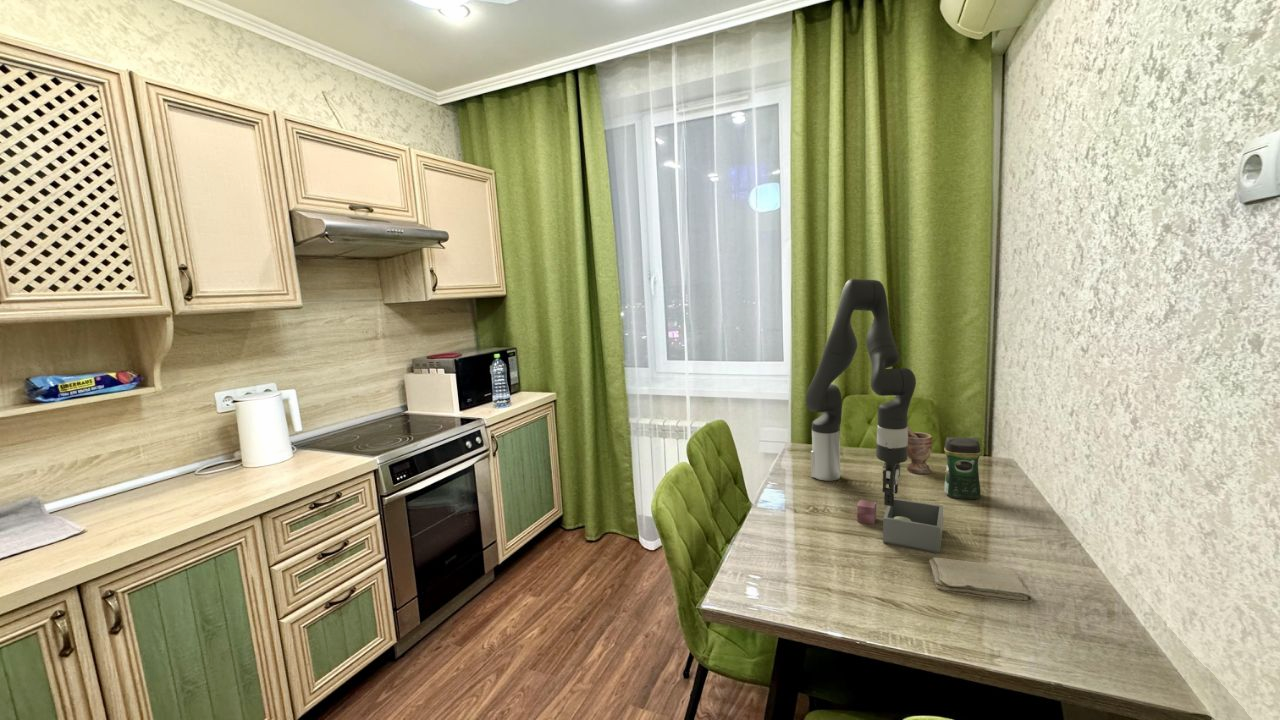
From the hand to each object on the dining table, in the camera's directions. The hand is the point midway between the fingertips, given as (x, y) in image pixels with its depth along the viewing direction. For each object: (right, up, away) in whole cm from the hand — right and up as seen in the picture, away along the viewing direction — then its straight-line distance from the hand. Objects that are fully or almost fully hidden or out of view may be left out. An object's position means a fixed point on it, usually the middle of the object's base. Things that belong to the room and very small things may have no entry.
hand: (891, 498), depth 138 cm
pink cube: (-2, -9, +10) cm, 14 cm away
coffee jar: (+33, -5, +21) cm, 39 cm away
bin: (+6, -10, -1) cm, 11 cm away
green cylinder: (+2, -10, -2) cm, 10 cm away
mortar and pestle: (+29, -2, +44) cm, 53 cm away
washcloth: (+8, -14, -23) cm, 28 cm away
